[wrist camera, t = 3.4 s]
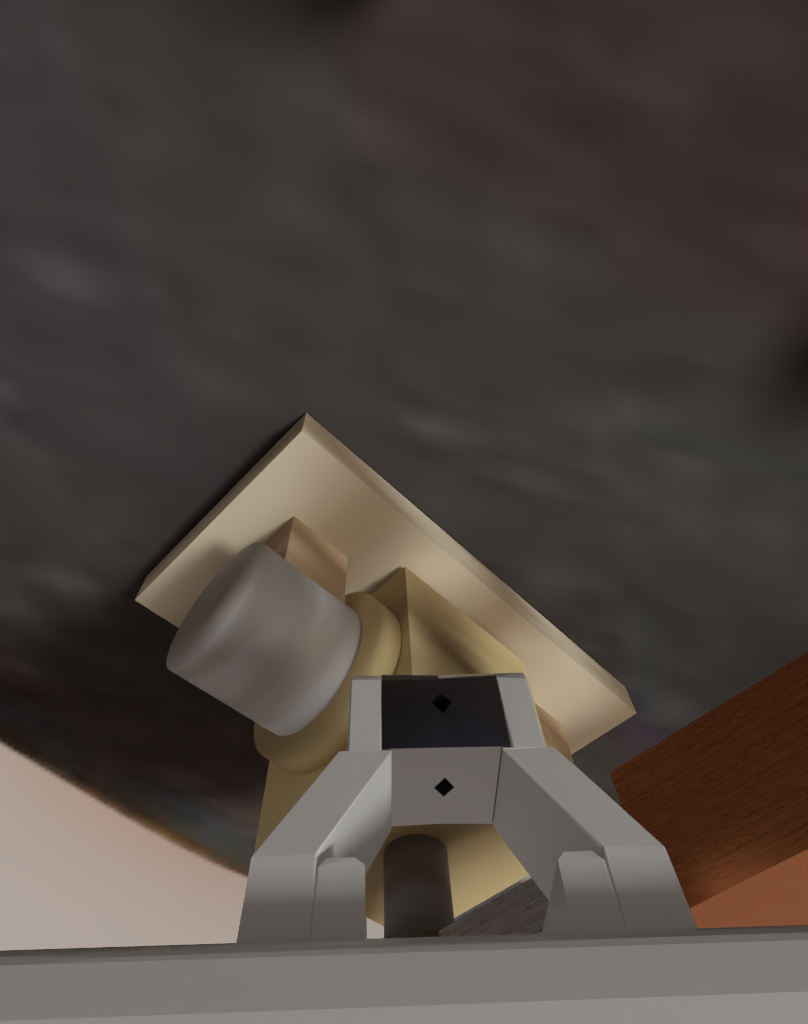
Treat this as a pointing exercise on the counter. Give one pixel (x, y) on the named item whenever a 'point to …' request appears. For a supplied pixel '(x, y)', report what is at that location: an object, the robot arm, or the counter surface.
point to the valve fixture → (360, 647)
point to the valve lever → (710, 815)
